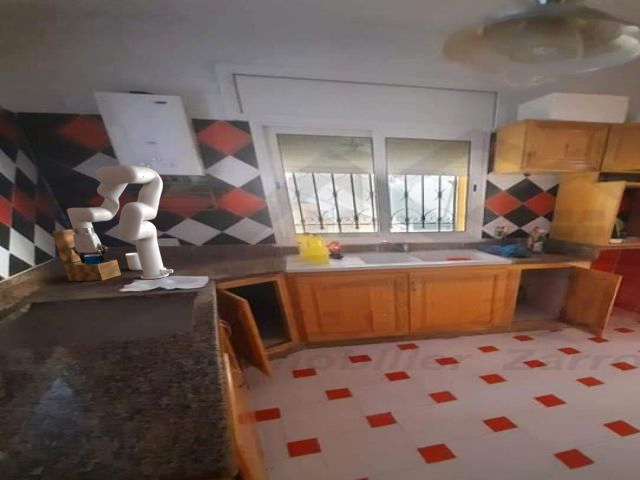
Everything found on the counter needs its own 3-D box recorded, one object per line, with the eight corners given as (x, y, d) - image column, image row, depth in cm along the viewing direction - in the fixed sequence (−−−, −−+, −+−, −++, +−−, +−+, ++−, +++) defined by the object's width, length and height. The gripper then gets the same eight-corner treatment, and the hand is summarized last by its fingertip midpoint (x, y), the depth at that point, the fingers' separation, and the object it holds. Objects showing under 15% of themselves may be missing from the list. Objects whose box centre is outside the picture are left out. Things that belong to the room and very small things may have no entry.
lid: (76, 228, 175) (66, 228, 175) (54, 231, 163) (43, 231, 163) (85, 259, 181) (76, 259, 180) (64, 264, 169) (53, 264, 168)
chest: (121, 274, 185) (116, 260, 182) (102, 280, 173) (97, 264, 171) (90, 275, 184) (85, 260, 181) (69, 280, 172) (63, 265, 169)
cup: (126, 269, 198) (121, 254, 195) (145, 266, 206) (141, 251, 203) (133, 271, 193) (129, 255, 190) (152, 268, 202) (148, 252, 199)
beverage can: (96, 278, 175) (89, 256, 171) (87, 277, 176) (80, 256, 172) (109, 275, 181) (103, 254, 177) (100, 274, 182) (94, 254, 178)
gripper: (59, 232, 166) (70, 264, 171) (95, 232, 168) (105, 263, 173) (73, 230, 173) (83, 261, 179) (107, 230, 175) (116, 260, 180)
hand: (94, 262), depth 176 cm, fingers open, 9 cm apart
